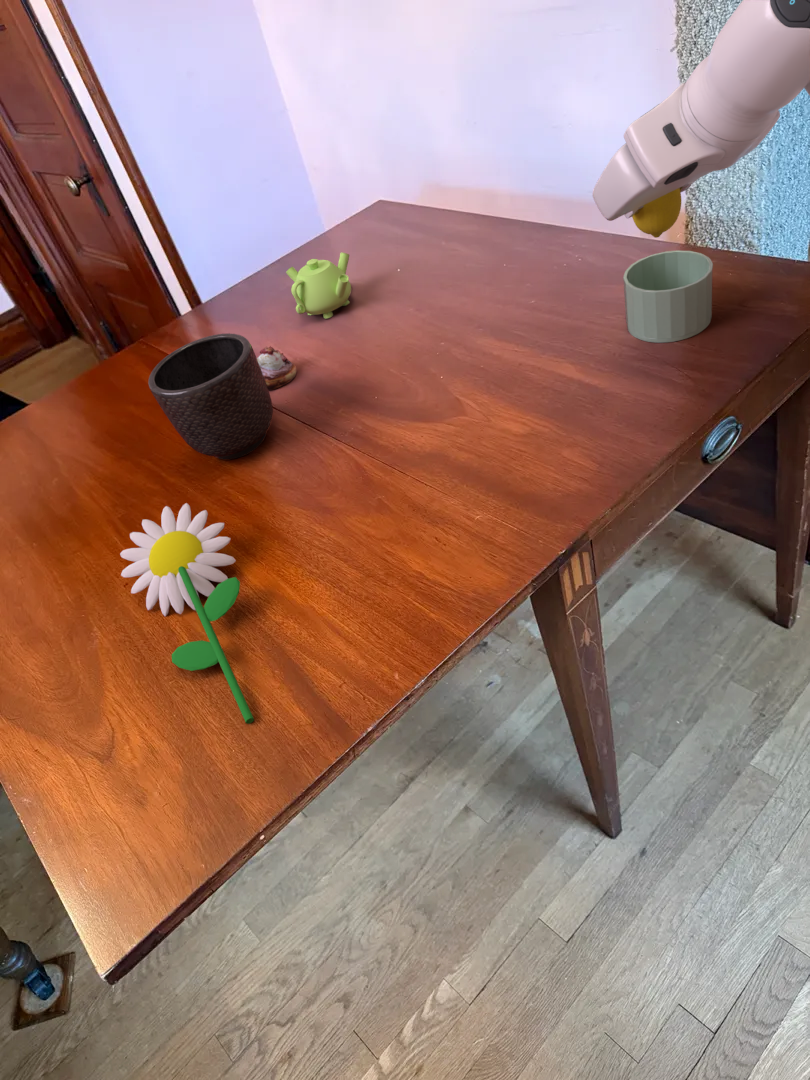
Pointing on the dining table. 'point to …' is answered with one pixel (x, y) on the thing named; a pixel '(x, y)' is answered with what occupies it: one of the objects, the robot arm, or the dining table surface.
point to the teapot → (321, 286)
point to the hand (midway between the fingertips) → (652, 199)
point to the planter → (215, 395)
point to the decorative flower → (187, 583)
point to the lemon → (659, 214)
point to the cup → (668, 296)
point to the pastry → (275, 368)
